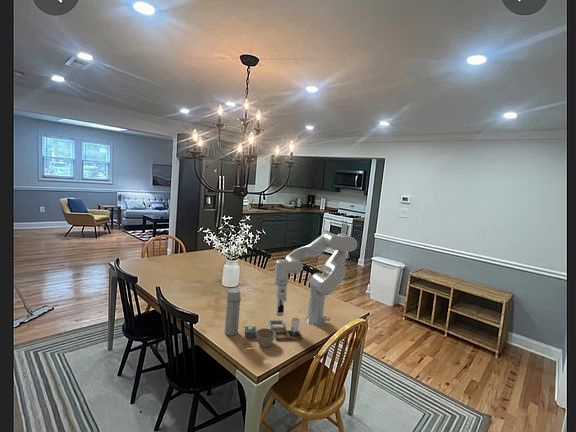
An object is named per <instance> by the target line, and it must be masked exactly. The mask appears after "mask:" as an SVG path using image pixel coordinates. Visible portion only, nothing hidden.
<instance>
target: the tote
mask: <svg viewBox="0 0 576 432" xmlns="http://www.w3.org/2000/svg"><path fill="white" fill-rule="evenodd" d="M268 324H269V329H271V330H273V331H286V330H285V328H286V326H285V323H284V321H283V320H282V319H277V320H276V319H273V320H272V319H269V320H268ZM272 324H281V326H272Z"/></svg>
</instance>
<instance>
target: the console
mask: <svg viewBox="0 0 576 432" xmlns="http://www.w3.org/2000/svg"><path fill="white" fill-rule="evenodd" d="M248 327H253V328H254V330H253V331H248ZM257 331H258V330H257V326H256V325H255V326H249V325H248V326H244V338H245V339H257V337H256V332H257Z"/></svg>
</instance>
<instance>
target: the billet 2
mask: <svg viewBox="0 0 576 432" xmlns="http://www.w3.org/2000/svg"><path fill="white" fill-rule="evenodd" d="M299 325H300V318H297V317H293V318H291V327H290V331H291V335H290V336H291V337H298V330H299Z"/></svg>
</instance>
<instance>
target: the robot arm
mask: <svg viewBox="0 0 576 432" xmlns="http://www.w3.org/2000/svg"><path fill="white" fill-rule="evenodd" d="M357 247H358V241H357V240H356V238H354V237H352V236H350V235H347V234H345V233H337V235H336V234H335V233H332V232H330V231H327V232H324V233H322V234H321V235H320V236H319V237H317V238H316V239H314V240H313V241H312V242H310V243H309V244H306V245H305V246H301V247H299V248H298V247H297V248H296V249H294V250H293V251H292V252H290V253H289V254H288V255H286V257H285V258H284V259H283V258H280V259H277V260H276V261H275V266H274V267H275V270H274V273H275V274H274V284H275V285H276V287H275V295H276V301H277V300H278V302H279V306H278V313H283V314H284V311H285V310H284V309H285V303H286V302H287V294H288V292H287V285H288V283H289V274H299V273H301V272H302V270H303V268H304V265H303V263H302V262H301V261H300V260H303V259H305V258H315V257H316V258H317V257H319V256H320V255H321V254H322V253H323V252H325V251H326V250H328V249H331V250H334V251H333V253H332V254H331V255H330V257H329V258H328V259H327V260H326V261H325V263H324V264H323V266H322V272H323V273H324V274H325V275H327V276H325V275H324V274H323V273H320V272H316V273H312V275H311V276H310V279H309V287H310V288H309V299H308V309H307V317H305V318H304V322H305V323H306V324H307V325H310V326H313V327H314V326H315V327H321V326H322V327H324V326H325V325H326V324H325V323H326V322H328V321H329V322H330V321H331V318H330V317H328V316H327V315H325V316H324V311H325V301H326V296H329V295H331V294H332V293H334V292H335V290H336V289H337V287H338V286H340V284H341V283H342V282H343V280H344V278H345V277H346V269H345V267H344V266H343V264H344V263H345V262H346V260H347V258H348V252H353V251H355V250H356V249H357ZM280 300H281V301H280ZM280 302H281V303H280ZM284 302H285V303H284Z"/></svg>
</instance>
